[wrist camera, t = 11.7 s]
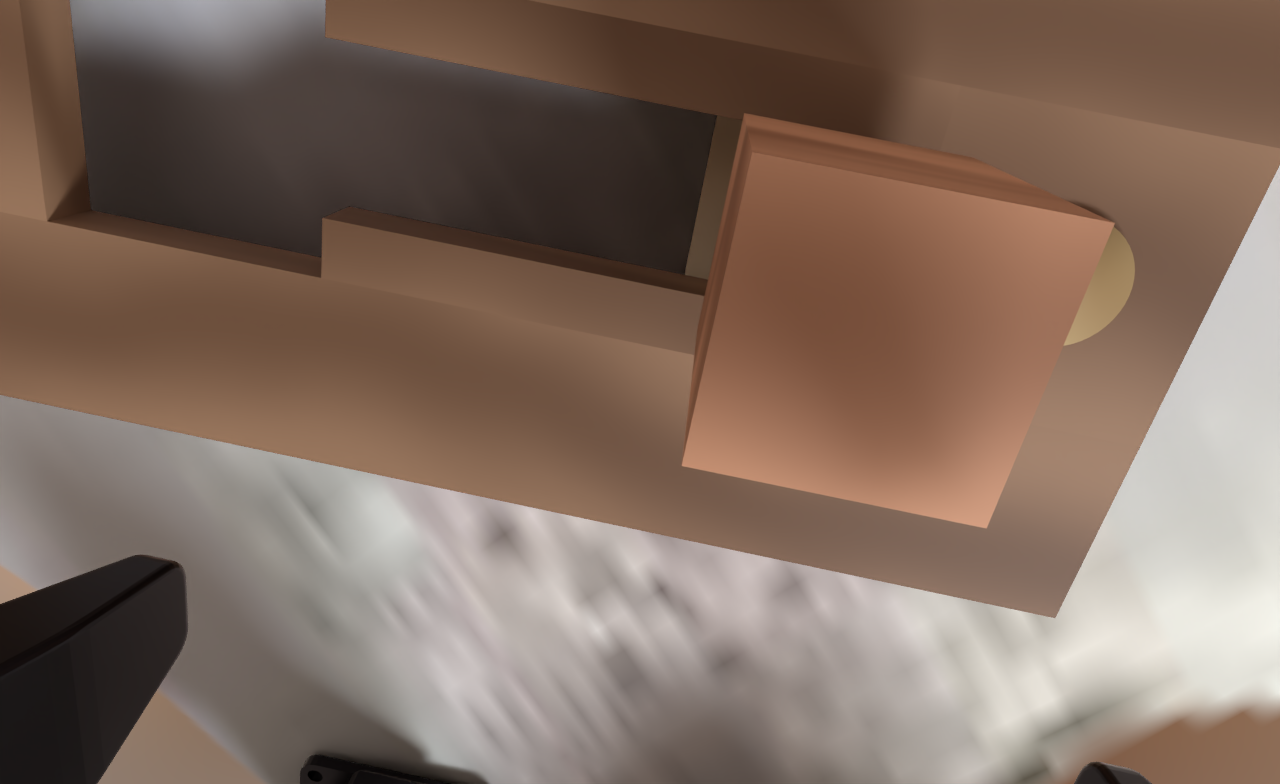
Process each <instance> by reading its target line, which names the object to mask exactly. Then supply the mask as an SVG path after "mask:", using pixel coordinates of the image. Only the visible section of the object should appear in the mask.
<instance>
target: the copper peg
mask: <svg viewBox="0 0 1280 784" xmlns="http://www.w3.org/2000/svg"><path fill="white" fill-rule="evenodd" d="M1114 224H1115V223H1114V222H1112V221H1110V220H1107V219H1105V218H1103V217H1101V216H1099V215H1097V214H1094V213H1092V212H1090V211H1088V210H1086V209H1084V208H1081V207H1079V206H1077V205H1075V204H1073V203H1071V202H1068V201H1066V200H1064V199H1062V198H1060V197H1058V196H1055V195H1053V194H1051V193H1049V192H1047V191H1045V190H1042V189H1040V188H1038V187H1036V186H1034V185H1032V184H1029V183H1027V182H1025V181H1023V180H1021V179H1019V178H1016V177H1014V176H1012V175H1010V174H1008V173H1006V172H1003V171H1001V170H999V169H997V168H995V167H993V166H990V165H988V164H986V163H984V162H982V161H980V160H977V159H975V158H973V157H968V156H963V155H957V154H952V153H947V152H942V151H937V150H932V149H927V148H921V147H916V146H911V145H906V144H901V143H896V142H891V141H885V140H880V139H875V138H870V137H865V136H860V135H855V134H849V133H844V132H839V131H834V130H829V129H824V128H818V127H813V126H808V125H803V124H798V123H793V122H788V121H782V120H777V119H772V118H767V117H762V116H757V115H752V114H746V113H744V116H743V120H738V119H733V118H728V117H723V116H718V115H717V118H716V123H715V128H714V133H713V137H712V142H711V147H710V152H709V157H708V162H707V167H706V172H705V177H704V182H703V186H702V191H701V196H700V201H699V206H698V211H697V216H696V221H695V226H694V231H693V236H692V240H691V245H690V250H689V255H688V260H687V265H686V270H685V275H688V276H693V277H698V278H703V279H707V280H708V282H707V287H706V291H705V296H704V301H703V305H702V310H701V314H700V319H699V324H698V328H697V337H696V345H695V354H694V363H693V371H692V380H691V389H690V397H689V406H688V415H687V423H686V432H685V441H684V449H683V458H682V466H684V467H689V468H694V469H699V470H704V471H709V472H714V473H718V474H723V475H728V476H733V477H738V478H743V479H748V480H753V481H757V482H762V483H767V484H772V485H777V486H782V487H787V488H792V489H796V490H801V491H806V492H811V493H816V494H821V495H826V496H830V497H835V498H840V499H845V500H850V501H855V502H860V503H865V504H869V505H874V506H879V507H884V508H889V509H894V510H899V511H904V512H908V513H913V514H918V515H923V516H928V517H933V518H938V519H942V520H947V521H952V522H957V523H962V524H967V525H972V526H977V527H981V528H986V529H987V526H988V524H989V522H990V519H991V517H992V514H993V512H994V510H995V507H996V505H997V503H998V500H999V498H1000V495H1001V493H1002V491H1003V488H1004V486H1005V484H1006V481H1007V479H1008V476H1009V474H1010V472H1011V469H1012V467H1013V464H1014V462H1015V460H1016V457H1017V455H1018V453H1019V450H1020V448H1021V445H1022V443H1023V441H1024V438H1025V436H1026V434H1027V431H1028V429H1029V426H1030V424H1031V422H1032V419H1033V417H1034V415H1035V412H1036V410H1037V407H1038V405H1039V403H1040V400H1041V398H1042V396H1043V393H1044V391H1045V388H1046V386H1047V384H1048V381H1049V379H1050V376H1051V374H1052V372H1053V369H1054V367H1055V365H1056V362H1057V360H1058V357H1059V355H1060V353H1061V350H1062V348H1063V346H1064V343H1065V341H1066V338H1067V336H1068V334H1069V331H1070V329H1071V327H1072V324H1073V322H1074V319H1075V317H1076V315H1077V312H1078V310H1079V307H1080V305H1081V303H1082V300H1083V298H1084V296H1085V293H1086V291H1087V288H1088V286H1089V284H1090V281H1091V279H1092V277H1093V274H1094V272H1095V269H1096V267H1097V265H1098V262H1099V260H1100V258H1101V255H1102V253H1103V250H1104V248H1105V246H1106V243H1107V241H1108V238H1109V236H1110V234H1111V231H1112V229H1113V227H1114Z"/></svg>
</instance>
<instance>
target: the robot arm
mask: <svg viewBox="0 0 1280 784" xmlns="http://www.w3.org/2000/svg"><path fill="white" fill-rule="evenodd" d="M187 632H188V615H187V593H186V576H185V571H184V569H183V567H182V566H181V564H179V563H177V562H175V561H171V560H167V559H162V558H158V557H153V556H148V555H135V556H132V557H129V558H126V559H123V560H120V561H118V562H115V563H112V564H109V565H107V566H104V567H101V568H98V569H96V570H93V571H90V572H87V573H85V574H82V575H79V576H76V577H74V578H71V579H68V580H65V581H63V582H60V583H57V584H54V585H52V586H49V587H46V588H43V589H41V590H38V591H35V592H32V593H30V594H27V595H24V596H21V597H19V598H16V599H13V600H10V601H8V602H5V603H2V604H0V784H97V783H98V782H99V780H100V779H101V777H102V776H103V774H104V772H105V771H106V770H107V768H108V766H109V765H110V763H111V762H112V760H113V759H114V757H115V755H116V754H117V752H118V751H119V749H120V747H121V746H122V744H123V743H124V741H125V740H126V738H127V736H128V735H129V733H130V731H131V730H132V728H133V727H134V725H135V724H136V722H137V721H138V719H139V717H140V716H141V714H142V713H143V711H144V709H145V708H146V706H147V705H148V703H149V701H150V700H151V698H152V697H153V695H154V694H155V692H156V691H157V689H158V687H159V686H160V684H161V683H162V681H163V679H164V678H165V676H166V675H167V673H168V672H169V670H170V668H171V667H172V665H173V664H174V662H175V660H176V659H177V657H178V656H179V654H180V652H181V650H182V648H183V646H184V643H185V640H186V637H187ZM300 784H449V783H444V782H440V781H435V780H430V779H426V778H421V777H417V776H412V775H408V774H403V773H399V772H394V771H390V770H385V769H380V768H376V767H371V766H367V765H362V764H358V763H353V762H349V761H344V760H340V759H335V758H330V757H326V756H321V755H313V756H310V757H309V758H308V759H307V760H306V762H305V764H304V766H303V767H302V769H301V772H300ZM1074 784H1152V783H1150V782H1149V781H1148V780H1147V779H1146V778H1145V777H1144V776H1142V775H1141V774H1140V773H1138V772H1136V771H1134V770H1132V769H1129V768H1125V767H1120V766H1116V765H1111V764H1107V763H1102V762H1091V763H1089V764H1087V765H1086V766H1084V768H1083V769H1082V770H1081V772H1080V774H1079V775H1078V777H1077V779H1076V781H1075V783H1074Z"/></svg>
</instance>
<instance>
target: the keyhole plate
mask: <svg viewBox="0 0 1280 784" xmlns="http://www.w3.org/2000/svg"><path fill="white" fill-rule="evenodd" d="M325 37H327V38H332V39H337V40H342V41H347V42H352V43H357V44H362V45H367V46H372V47H377V48H382V49H387V50H392V51H397V52H402V53H407V54H412V55H417V56H422V57H427V58H432V59H437V60H442V61H447V62H452V63H457V64H462V65H467V66H472V67H477V68H482V69H487V70H492V71H498V72H503V73H508V74H513V75H518V76H523V77H528V78H533V79H538V80H543V81H548V82H553V83H558V84H563V85H568V86H573V87H578V88H583V89H588V90H593V91H598V92H603V93H608V94H613V95H618V96H623V97H628V98H633V99H638V100H643V101H648V102H653V103H658V104H663V105H668V106H673V107H678V108H683V109H688V110H693V111H698V112H703V113H708V114H713V115H718V116H723V117H728V118H733V119H738V120H743V116H744V113H746V114H752V115H757V116H762V117H767V118H772V119H777V120H782V121H788V122H793V123H798V124H803V125H808V126H813V127H818V128H824V129H829V130H834V131H839V132H844V133H849V134H855V135H860V136H865V137H870V138H875V139H880V140H885V141H891V142H896V143H901V144H906V145H911V146H916V147H921V148H927V149H932V150H937V151H942V152H947V153H952V154H957V155H963V156H968V157H973V158H975V159H977V160H980V161H982V162H984V163H986V164H988V165H990V166H993V167H995V168H997V169H999V170H1001V171H1003V172H1006V173H1008V174H1010V175H1012V176H1014V177H1016V178H1019V179H1021V180H1023V181H1025V182H1027V183H1029V184H1032V185H1034V186H1036V187H1038V188H1040V189H1042V190H1045V191H1047V192H1049V193H1051V194H1053V195H1055V196H1058V197H1060V198H1062V199H1064V200H1066V201H1068V202H1071V203H1073V204H1075V205H1077V206H1079V207H1081V208H1084V209H1086V210H1088V211H1090V212H1092V213H1094V214H1097V215H1099V216H1101V217H1103V218H1105V219H1107V220H1110V221H1112V222H1114V223H1115V224H1114V227H1113V229H1112V231H1111V234H1110V236H1109V238H1108V241H1107V243H1106V246H1105V248H1104V250H1103V253H1102V255H1101V258H1100V260H1099V262H1098V265H1097V267H1096V269H1095V272H1094V274H1093V277H1092V279H1091V281H1090V284H1089V286H1088V288H1087V291H1086V293H1085V296H1084V298H1083V300H1082V303H1081V305H1080V307H1079V310H1078V312H1077V315H1076V317H1075V319H1074V322H1073V324H1072V327H1071V329H1070V331H1069V334H1068V336H1067V338H1066V341H1065V343H1064V346H1063V348H1062V350H1061V353H1060V355H1059V357H1058V360H1057V362H1056V365H1055V367H1054V369H1053V372H1052V374H1051V376H1050V379H1049V381H1048V384H1047V386H1046V388H1045V391H1044V393H1043V396H1042V398H1041V400H1040V403H1039V405H1038V407H1037V410H1036V412H1035V415H1034V417H1033V419H1032V422H1031V424H1030V426H1029V429H1028V431H1027V434H1026V436H1025V438H1024V441H1023V443H1022V445H1021V448H1020V450H1019V453H1018V455H1017V457H1016V460H1015V462H1014V464H1013V467H1012V469H1011V472H1010V474H1009V476H1008V479H1007V481H1006V484H1005V486H1004V488H1003V491H1002V493H1001V495H1000V498H999V500H998V503H997V505H996V507H995V510H994V512H993V514H992V517H991V519H990V522H989V524H988V526H987V529H986V528H981V527H977V526H972V525H967V524H962V523H957V522H952V521H947V520H942V519H938V518H933V517H928V516H923V515H918V514H913V513H908V512H904V511H899V510H894V509H889V508H884V507H879V506H874V505H869V504H865V503H860V502H855V501H850V500H845V499H840V498H835V497H830V496H826V495H821V494H816V493H811V492H806V491H801V490H796V489H792V488H787V487H782V486H777V485H772V484H767V483H762V482H757V481H753V480H748V479H743V478H738V477H733V476H728V475H723V474H718V473H714V472H709V471H704V470H699V469H694V468H689V467H684V466H682V458H683V449H684V441H685V432H686V423H687V415H688V406H689V397H690V389H691V380H692V371H693V363H694V354H695V345H696V337H697V328H698V324H699V319H700V314H701V310H702V305H703V301H704V296H705V291H706V287H707V282H708V280H707V279H703V278H698V277H693V276H688V275H683V274H678V273H673V272H668V271H663V270H659V269H654V268H649V267H644V266H639V265H634V264H629V263H624V262H619V261H614V260H610V259H605V258H600V257H595V256H590V255H585V254H580V253H575V252H570V251H565V250H561V249H556V248H551V247H546V246H541V245H536V244H531V243H526V242H521V241H516V240H512V239H507V238H502V237H497V236H492V235H487V234H482V233H477V232H472V231H468V230H463V229H458V228H453V227H448V226H443V225H438V224H433V223H428V222H423V221H419V220H414V219H409V218H404V217H399V216H394V215H389V214H384V213H379V212H374V211H370V210H365V209H360V208H355V207H350V206H349V207H347V208H345V209H342V210H340V211H338V212H335V213H333V214H330V215H328V216H326V217H323V218H322V258H321V257H316V256H312V255H307V254H302V253H297V252H292V251H287V250H282V249H278V248H273V247H268V246H263V245H258V244H253V243H248V242H244V241H239V240H234V239H229V238H224V237H219V236H214V235H210V234H205V233H200V232H195V231H190V230H185V229H180V228H176V227H171V226H166V225H161V224H156V223H151V222H146V221H142V220H137V219H132V218H127V217H122V216H117V215H112V214H108V213H103V212H98V211H93V210H91V205H90V195H89V186H88V176H87V166H86V156H85V147H84V137H83V127H82V117H81V108H80V98H79V88H78V78H77V69H76V59H75V49H74V39H73V30H72V20H71V10H70V0H0V395H4V396H9V397H13V398H18V399H23V400H27V401H32V402H37V403H42V404H46V405H51V406H56V407H60V408H65V409H70V410H75V411H79V412H84V413H89V414H94V415H98V416H103V417H108V418H112V419H117V420H122V421H127V422H131V423H136V424H141V425H146V426H150V427H155V428H160V429H164V430H169V431H174V432H179V433H183V434H188V435H193V436H198V437H202V438H207V439H212V440H216V441H221V442H226V443H231V444H235V445H240V446H245V447H249V448H254V449H259V450H264V451H268V452H273V453H278V454H283V455H287V456H292V457H297V458H301V459H306V460H311V461H316V462H320V463H325V464H330V465H335V466H339V467H344V468H349V469H353V470H358V471H363V472H368V473H372V474H377V475H382V476H386V477H391V478H396V479H401V480H405V481H410V482H415V483H420V484H424V485H429V486H434V487H438V488H443V489H448V490H453V491H457V492H462V493H467V494H472V495H476V496H481V497H486V498H490V499H495V500H500V501H505V502H509V503H514V504H519V505H523V506H528V507H533V508H538V509H542V510H547V511H552V512H557V513H561V514H566V515H571V516H575V517H580V518H585V519H590V520H594V521H599V522H604V523H609V524H613V525H618V526H623V527H627V528H632V529H637V530H642V531H646V532H651V533H656V534H661V535H665V536H670V537H675V538H679V539H684V540H689V541H694V542H698V543H703V544H708V545H712V546H717V547H722V548H727V549H731V550H736V551H741V552H746V553H750V554H755V555H760V556H764V557H769V558H774V559H779V560H783V561H788V562H793V563H798V564H802V565H807V566H812V567H816V568H821V569H826V570H831V571H835V572H840V573H845V574H849V575H854V576H859V577H864V578H868V579H873V580H878V581H883V582H887V583H892V584H897V585H901V586H906V587H911V588H916V589H920V590H925V591H930V592H935V593H939V594H944V595H949V596H953V597H958V598H963V599H968V600H972V601H977V602H982V603H986V604H991V605H996V606H1001V607H1005V608H1010V609H1015V610H1020V611H1024V612H1029V613H1034V614H1038V615H1043V616H1048V617H1053V618H1055V617H1056V615H1057V613H1058V611H1059V609H1060V607H1061V605H1062V603H1063V601H1064V599H1065V597H1066V595H1067V593H1068V591H1069V589H1070V587H1071V585H1072V583H1073V581H1074V579H1075V577H1076V575H1077V573H1078V571H1079V569H1080V567H1081V565H1082V563H1083V561H1084V559H1085V557H1086V555H1087V553H1088V551H1089V549H1090V547H1091V545H1092V543H1093V541H1094V539H1095V537H1096V534H1097V532H1098V530H1099V528H1100V526H1101V524H1102V522H1103V520H1104V518H1105V516H1106V514H1107V512H1108V510H1109V508H1110V506H1111V504H1112V502H1113V500H1114V498H1115V496H1116V494H1117V492H1118V490H1119V488H1120V486H1121V484H1122V482H1123V480H1124V478H1125V476H1126V474H1127V472H1128V470H1129V468H1130V466H1131V464H1132V462H1133V460H1134V458H1135V456H1136V454H1137V452H1138V450H1139V448H1140V446H1141V444H1142V442H1143V440H1144V438H1145V436H1146V434H1147V432H1148V430H1149V428H1150V426H1151V424H1152V422H1153V420H1154V417H1155V415H1156V413H1157V411H1158V409H1159V407H1160V405H1161V403H1162V401H1163V399H1164V397H1165V395H1166V393H1167V391H1168V389H1169V387H1170V385H1171V383H1172V381H1173V379H1174V377H1175V375H1176V373H1177V371H1178V369H1179V367H1180V365H1181V363H1182V361H1183V359H1184V357H1185V355H1186V353H1187V351H1188V349H1189V347H1190V345H1191V343H1192V341H1193V339H1194V337H1195V335H1196V333H1197V331H1198V329H1199V327H1200V325H1201V323H1202V321H1203V319H1204V317H1205V315H1206V313H1207V311H1208V309H1209V307H1210V305H1211V302H1212V300H1213V298H1214V296H1215V294H1216V292H1217V290H1218V288H1219V286H1220V284H1221V282H1222V280H1223V278H1224V276H1225V274H1226V272H1227V270H1228V268H1229V266H1230V264H1231V262H1232V260H1233V258H1234V256H1235V254H1236V252H1237V250H1238V248H1239V246H1240V244H1241V242H1242V240H1243V238H1244V236H1245V234H1246V232H1247V230H1248V228H1249V226H1250V224H1251V222H1252V220H1253V218H1254V216H1255V214H1256V212H1257V210H1258V208H1259V206H1260V204H1261V202H1262V200H1263V198H1264V196H1265V194H1266V192H1267V190H1268V187H1269V185H1270V183H1271V181H1272V179H1273V177H1274V175H1275V173H1276V171H1277V169H1278V167H1279V165H1280V0H326V17H325Z"/></svg>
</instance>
